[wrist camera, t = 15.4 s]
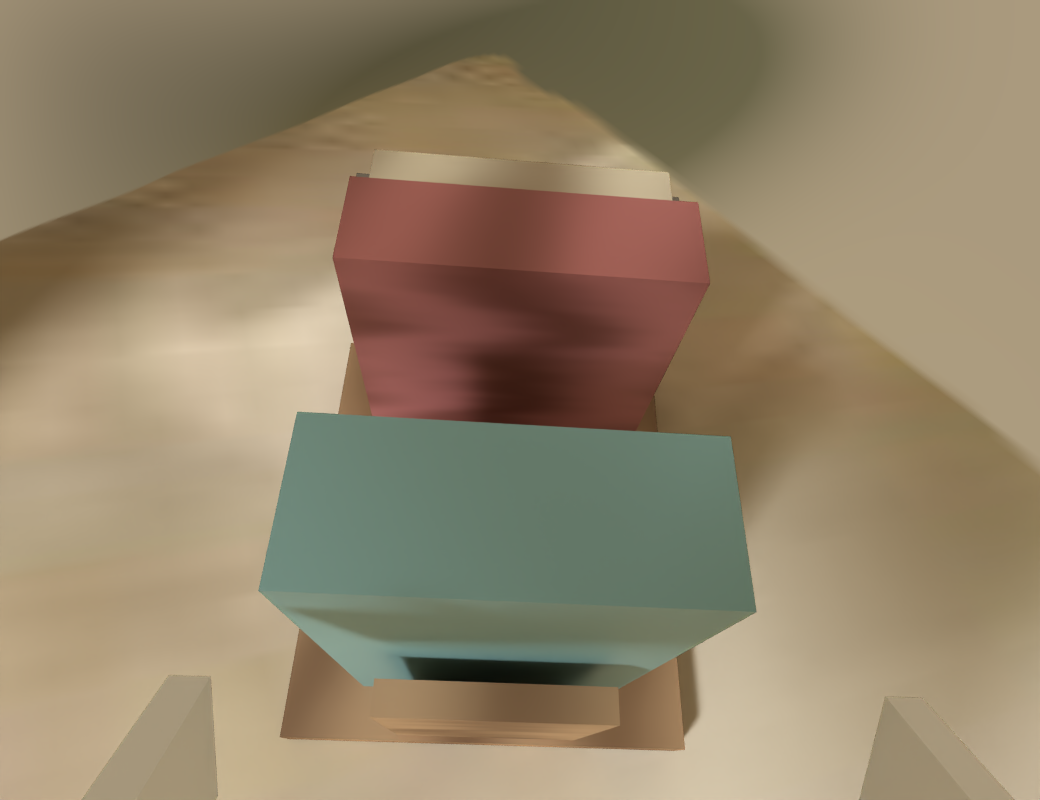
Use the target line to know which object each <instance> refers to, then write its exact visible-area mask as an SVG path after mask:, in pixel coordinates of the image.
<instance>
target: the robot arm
mask: <svg viewBox="0 0 1040 800" xmlns="http://www.w3.org/2000/svg"><path fill="white" fill-rule="evenodd" d="M217 796H218V788H217V771H216V755H215V738H214V721H213V705H212V688H211V676H179V675H169V676H168V677H167V678H166V680H165V681H164V683H163V684H162V686H161V687H160V688H159V690H158V691H157V693H156V694H155V696H154V697H153V698H152V700H151V701H150V703H149V704H148V706H147V707H146V708H145V710H144V711H143V713H142V714H141V716H140V717H139V718H138V720H137V721H136V723H135V724H134V726H133V727H132V728H131V730H130V731H129V733H128V734H127V736H126V737H125V738H124V740H123V741H122V743H121V744H120V746H119V747H118V748H117V750H116V751H115V753H114V754H113V756H112V757H111V758H110V760H109V761H108V763H107V764H106V766H105V767H104V768H103V770H102V771H101V773H100V774H99V776H98V777H97V778H96V780H95V781H94V783H93V784H92V786H91V787H90V788H89V790H88V791H87V793H86V794H85V796H84V797H83V798H82V800H216V798H217ZM859 800H1014V799H1013V798H1012V797H1011V796H1010V794H1009V793H1008V792H1007V791H1006V790H1005V789H1004V788H1003V787H1002V786H1001V784H1000V783H999V782H998V781H997V780H996V779H995V778H994V777H993V776H992V774H991V773H990V772H989V771H988V770H987V769H986V768H985V767H984V766H983V765H982V763H981V762H980V761H979V760H978V759H977V758H976V757H975V756H974V755H973V753H972V752H971V751H970V750H969V749H968V748H967V747H966V746H965V745H964V743H963V742H962V741H961V740H960V739H959V738H958V737H957V736H956V735H955V733H954V732H953V731H952V730H951V729H950V728H949V727H948V726H947V725H946V723H945V722H944V721H943V720H942V719H941V718H940V717H939V716H938V715H937V713H936V712H935V711H934V710H933V709H932V708H931V707H930V706H929V705H928V703H927V702H926V701H925V700H924V699H923V698H916V697H885V700H884V704H883V708H882V712H881V716H880V720H879V724H878V728H877V732H876V736H875V740H874V744H873V748H872V752H871V756H870V760H869V764H868V768H867V772H866V776H865V779H864V783H863V787H862V791H861V795H860V799H859Z"/></svg>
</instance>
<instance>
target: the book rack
mask: <svg viewBox="0 0 1040 800" xmlns="http://www.w3.org/2000/svg"><path fill="white" fill-rule="evenodd" d="M333 261H334V265H335V269H336V273H337V277H338V281H339V285H340V289H341V293H342V297H343V301H344V305H345V309H346V313H347V317H348V321H349V325H350V329H351V333H352V337H353V341H354V343H351V347H350V352H349V358H348V363H347V369H346V374H345V380H344V385H343V391H342V396H341V402H340V407H339V413H338V414H344V415H362V416H379V417H397V418H414V419H432V420H449V421H467V422H484V423H502V424H519V425H537V426H554V427H572V428H589V429H607V430H624V431H642V432H657V422H656V410H655V399H654V394H655V392H656V390H657V388H658V386H659V384H660V382H661V380H662V378H663V376H664V374H665V372H666V370H667V368H668V366H669V364H670V362H671V360H672V358H673V356H674V354H675V352H676V350H677V348H678V346H679V344H680V342H681V340H682V338H683V336H684V334H685V332H686V330H687V328H688V326H689V324H690V322H691V320H692V318H693V316H694V314H695V312H696V310H697V308H698V306H699V304H700V302H701V300H702V298H703V296H704V294H705V292H706V290H707V288H708V286H709V285H710V280H709V273H708V266H707V260H706V253H705V246H704V239H703V233H702V226H701V219H700V213H699V206H698V202H685V201H679V198H678V197H672V192H671V184H670V176H669V172H659V171H646V170H633V169H620V168H607V167H595V166H582V165H569V164H556V163H543V162H530V161H518V160H505V159H492V158H479V157H466V156H454V155H441V154H428V153H415V152H402V151H390V150H377V149H374V154H373V159H372V165H371V170H370V174H362V173H357V175H356V177H355V176H350V178H349V183H348V188H347V192H346V197H345V202H344V206H343V211H342V216H341V220H340V225H339V230H338V234H337V239H336V244H335V248H334V253H333ZM280 737H282V738H287V739H310V740H343V741H375V742H408V743H440V744H473V745H505V746H538V747H571V748H603V749H636V750H668V751H676V750H685V745H684V733H683V722H682V710H681V698H680V687H679V675H678V664H677V657H675V658H673V659H671V660H669V661H668V662H666V663H664V664H662V665H660V666H659V667H657V668H655V669H653V670H651V671H650V672H648V673H646V674H644V675H642V676H641V677H639V678H637V679H635V680H633V681H632V682H630V683H628V684H626V685H625V686H623V687H621V688H619V689H618V687H599V686H571V685H543V684H516V683H488V682H460V681H432V680H404V679H376V678H374V684H373V686H363V685H362V684H361V683H359V682H358V681H357V680H356V679H355V678H354V677H353V676H352V675H351V674H350V673H348V672H347V671H346V670H345V669H344V668H343V667H342V666H341V665H340V664H339V663H337V662H336V661H335V660H334V659H333V658H332V657H331V656H330V655H329V654H328V653H326V652H325V651H324V650H323V649H322V648H321V647H320V646H319V645H318V644H317V643H315V642H314V641H313V640H312V639H311V638H310V637H309V636H308V635H307V634H306V633H304V632H303V631H302V630H301V629H299V634H298V640H297V645H296V651H295V656H294V662H293V667H292V673H291V678H290V684H289V689H288V695H287V700H286V706H285V711H284V717H283V722H282V728H281V734H280Z"/></svg>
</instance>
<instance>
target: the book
mask: <svg viewBox="0 0 1040 800" xmlns="http://www.w3.org/2000/svg"><path fill="white" fill-rule="evenodd" d="M259 592H261V593H262V594H263V595H264V596H265V597H266V598H267V599H268V600H269V601H270V602H272V603H273V604H274V605H275V606H276V607H277V608H278V609H279V610H280V611H281V612H282V613H284V614H285V615H286V616H287V617H288V618H289V619H290V620H291V621H292V622H293V623H295V624H296V625H297V626H298V627H299V628H300V629H301V630H302V631H303V632H304V633H306V634H307V635H308V636H309V637H310V638H311V639H312V640H313V641H314V642H315V643H317V644H318V645H319V646H320V647H321V648H322V649H323V650H324V651H325V652H326V653H328V654H329V655H330V656H331V657H332V658H333V659H334V660H335V661H336V662H337V663H339V664H340V665H341V666H342V667H343V668H344V669H345V670H346V671H347V672H348V673H350V674H351V675H352V676H353V677H354V678H355V679H356V680H357V681H358V682H359V683H361V684H362V685H363V686H373V684H374V678H376V679H404V680H432V681H460V682H488V683H516V684H543V685H571V686H599V687H618V689H619V688H621V687H623V686H625V685H626V684H628V683H630V682H632V681H633V680H635V679H637V678H639V677H641V676H642V675H644V674H646V673H648V672H650V671H651V670H653V669H655V668H657V667H659V666H660V665H662V664H664V663H666V662H668V661H669V660H671V659H673V658H675V657H677V656H678V655H680V654H682V653H684V652H686V651H687V650H689V649H691V648H693V647H695V646H696V645H698V644H700V643H702V642H704V641H705V640H707V639H709V638H711V637H712V636H714V635H716V634H718V633H720V632H721V631H723V630H725V629H727V628H729V627H730V626H732V625H734V624H736V623H738V622H739V621H741V620H743V619H745V618H747V617H748V616H750V615H752V614H754V613H756V605H755V599H754V592H753V585H752V578H751V571H750V565H749V558H748V551H747V544H746V537H745V530H744V524H743V517H742V510H741V503H740V496H739V489H738V483H737V476H736V469H735V462H734V455H733V448H732V442H731V437H729V436H712V435H694V434H677V433H659V432H642V431H624V430H607V429H589V428H572V427H554V426H537V425H519V424H502V423H484V422H467V421H449V420H432V419H414V418H397V417H379V416H362V415H344V414H327V413H309V412H297V415H296V420H295V424H294V429H293V434H292V438H291V443H290V448H289V452H288V457H287V461H286V466H285V471H284V475H283V480H282V485H281V489H280V494H279V498H278V503H277V508H276V512H275V517H274V521H273V526H272V531H271V535H270V540H269V545H268V549H267V554H266V558H265V563H264V568H263V572H262V577H261V582H260V586H259Z"/></svg>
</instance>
